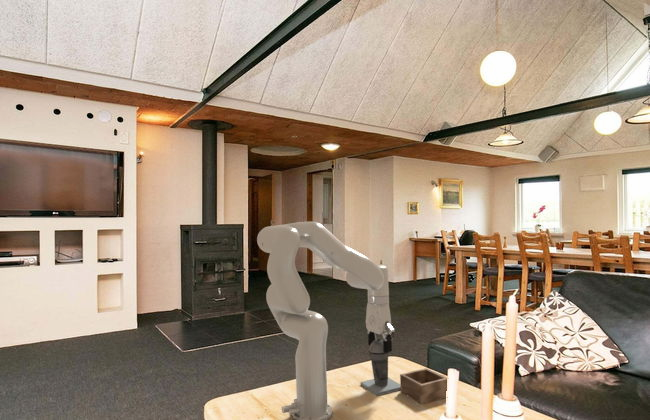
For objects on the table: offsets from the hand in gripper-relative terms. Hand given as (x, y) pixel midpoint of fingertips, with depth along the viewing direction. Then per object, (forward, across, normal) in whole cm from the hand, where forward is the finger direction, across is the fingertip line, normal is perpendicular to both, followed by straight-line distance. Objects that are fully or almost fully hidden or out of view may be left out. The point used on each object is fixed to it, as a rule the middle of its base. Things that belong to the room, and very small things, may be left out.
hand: (379, 348), depth 146 cm
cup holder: (+14, +12, +9) cm, 21 cm away
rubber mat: (+14, 0, 0) cm, 14 cm away
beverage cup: (+13, 0, 0) cm, 13 cm away
